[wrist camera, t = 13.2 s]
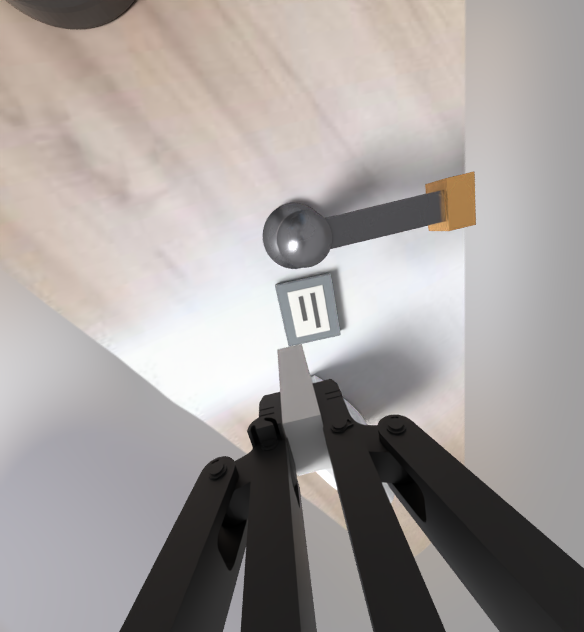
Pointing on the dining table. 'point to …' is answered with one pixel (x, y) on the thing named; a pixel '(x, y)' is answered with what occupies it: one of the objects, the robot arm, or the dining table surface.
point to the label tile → (308, 309)
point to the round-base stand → (272, 228)
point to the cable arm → (378, 221)
